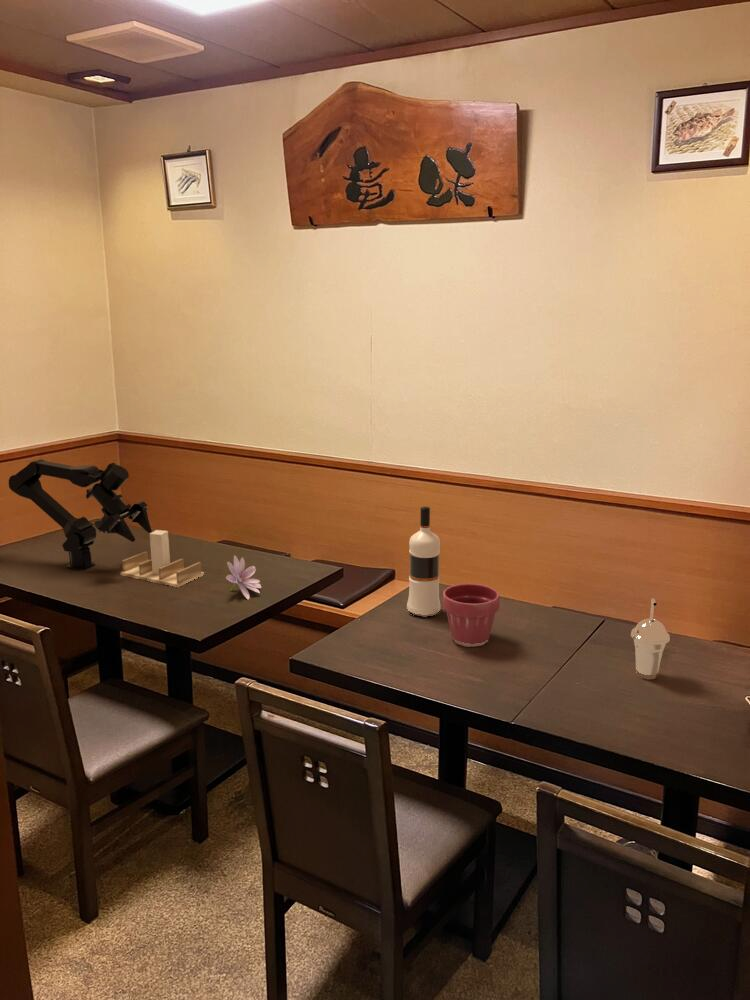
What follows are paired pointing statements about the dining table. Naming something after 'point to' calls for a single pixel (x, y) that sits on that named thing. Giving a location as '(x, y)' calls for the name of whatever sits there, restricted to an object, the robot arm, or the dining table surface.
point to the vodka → (424, 569)
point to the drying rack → (160, 571)
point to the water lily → (242, 577)
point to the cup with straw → (649, 643)
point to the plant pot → (470, 611)
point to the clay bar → (159, 550)
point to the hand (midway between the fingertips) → (142, 536)
